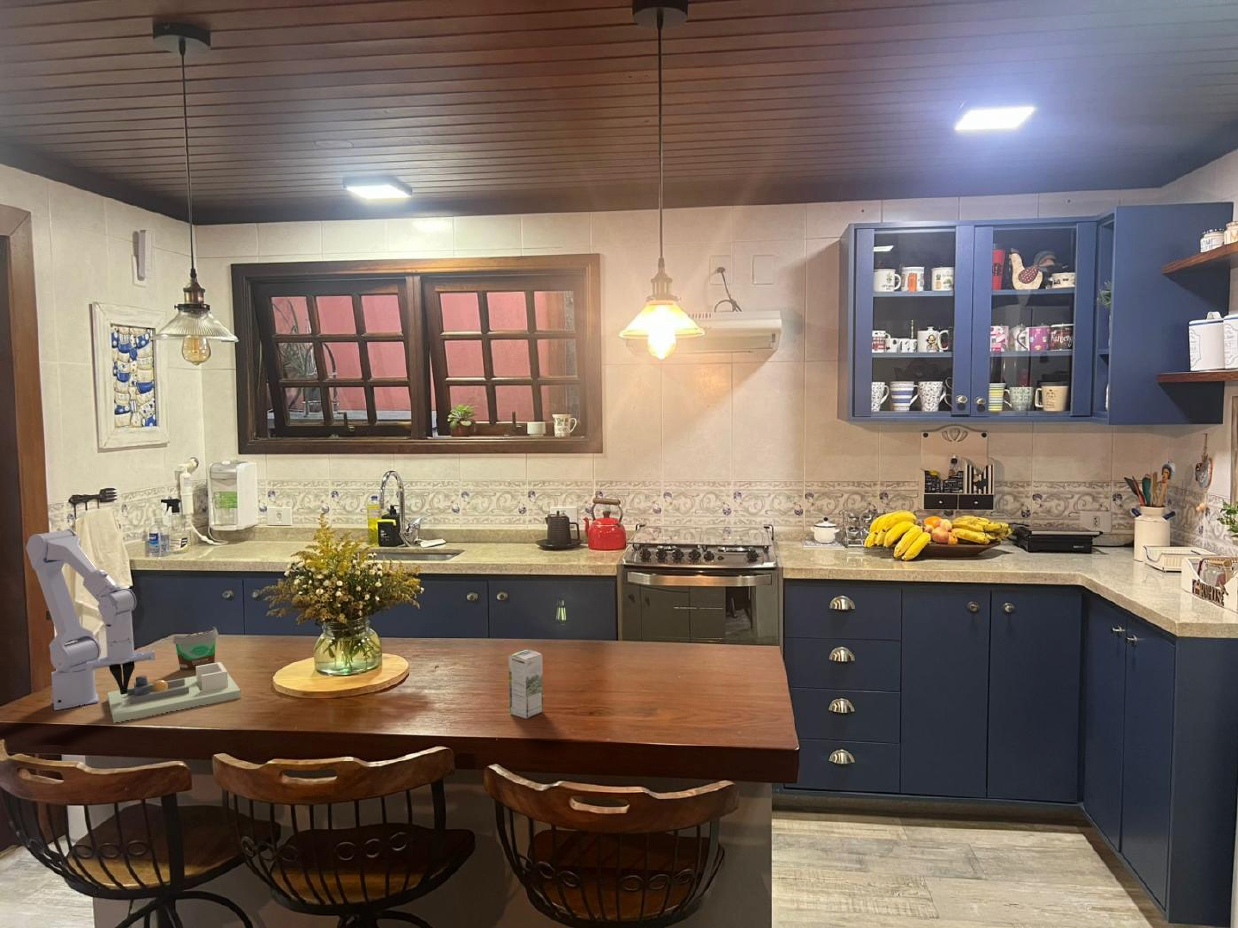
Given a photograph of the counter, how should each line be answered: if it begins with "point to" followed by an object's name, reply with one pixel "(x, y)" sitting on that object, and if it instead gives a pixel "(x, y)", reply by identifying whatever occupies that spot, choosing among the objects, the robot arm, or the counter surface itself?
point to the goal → (212, 676)
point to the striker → (141, 686)
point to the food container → (196, 649)
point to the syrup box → (526, 683)
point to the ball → (159, 686)
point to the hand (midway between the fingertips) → (123, 693)
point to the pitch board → (168, 698)
